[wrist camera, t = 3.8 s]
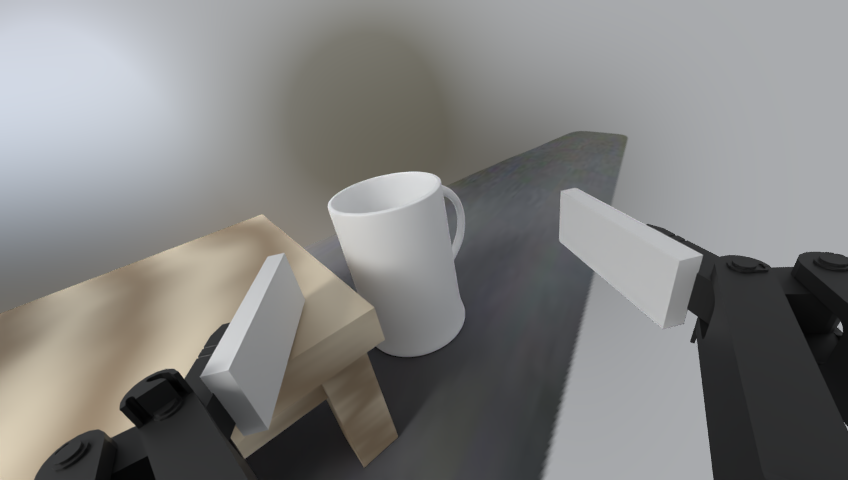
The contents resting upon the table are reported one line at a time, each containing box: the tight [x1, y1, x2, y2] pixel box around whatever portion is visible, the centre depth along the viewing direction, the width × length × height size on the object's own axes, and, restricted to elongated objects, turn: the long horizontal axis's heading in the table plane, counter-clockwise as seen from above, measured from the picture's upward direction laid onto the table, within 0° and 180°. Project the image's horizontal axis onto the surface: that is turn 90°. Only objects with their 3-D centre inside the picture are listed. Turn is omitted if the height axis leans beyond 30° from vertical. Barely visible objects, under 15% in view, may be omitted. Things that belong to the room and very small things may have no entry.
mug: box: [328, 172, 465, 357], centre depth 26 cm, size 12×8×12 cm
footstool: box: [0, 215, 398, 480], centre depth 19 cm, size 20×20×10 cm
